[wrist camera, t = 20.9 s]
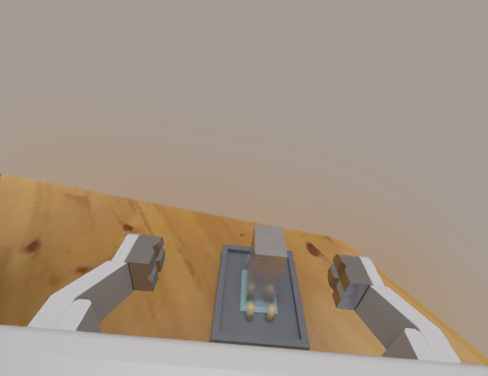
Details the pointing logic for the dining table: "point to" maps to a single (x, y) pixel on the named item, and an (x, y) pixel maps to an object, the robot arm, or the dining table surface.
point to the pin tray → (253, 317)
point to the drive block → (265, 265)
